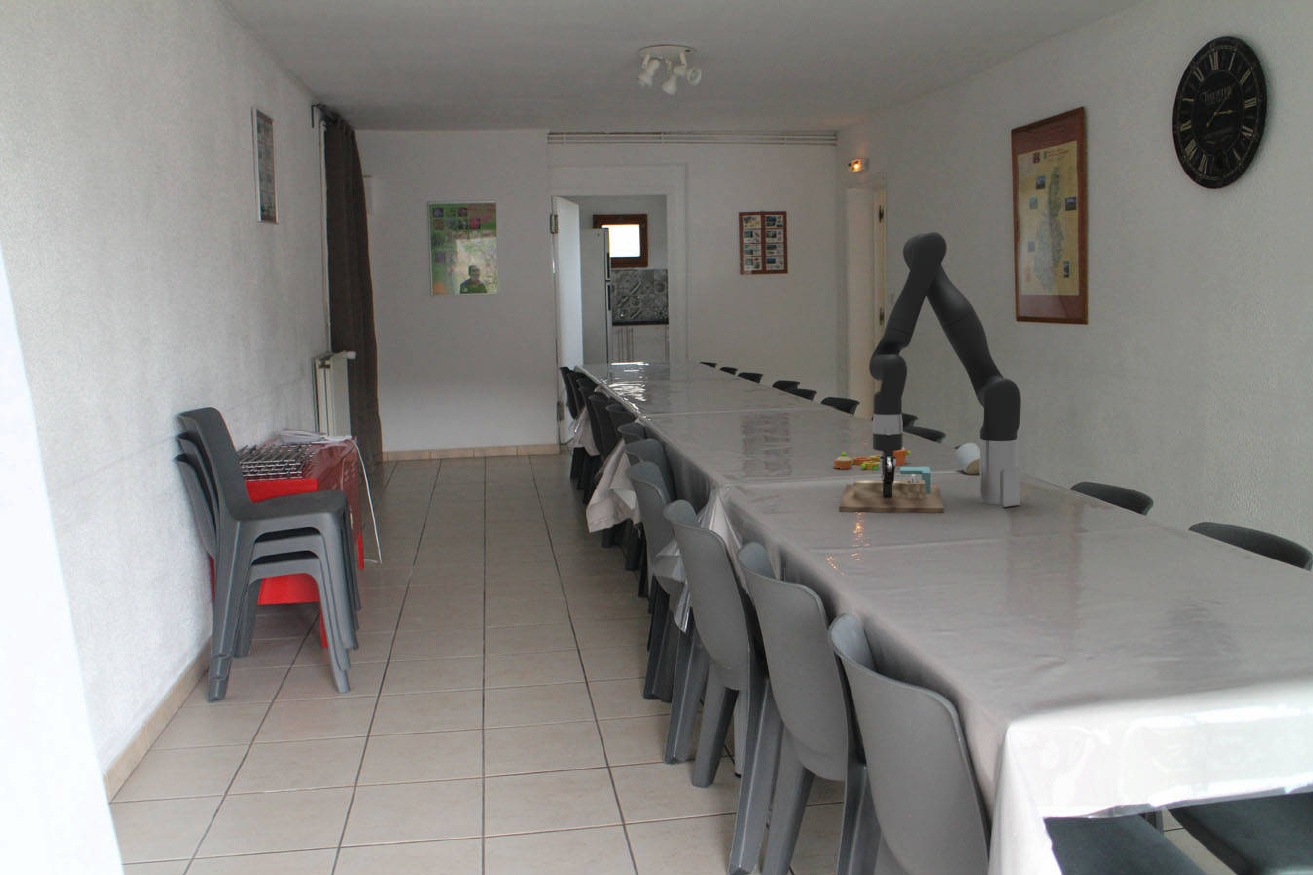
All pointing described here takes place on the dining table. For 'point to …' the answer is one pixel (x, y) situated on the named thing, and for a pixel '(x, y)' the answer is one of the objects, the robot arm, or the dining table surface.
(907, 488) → the maple link
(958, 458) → the ceramic mug
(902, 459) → the toy tea set
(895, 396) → the robot arm
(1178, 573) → the dining table surface
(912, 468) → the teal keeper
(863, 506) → the walnut board
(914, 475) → the rod
